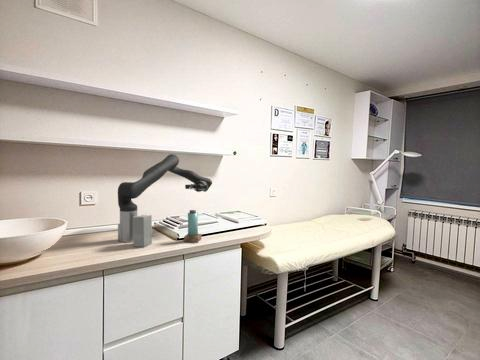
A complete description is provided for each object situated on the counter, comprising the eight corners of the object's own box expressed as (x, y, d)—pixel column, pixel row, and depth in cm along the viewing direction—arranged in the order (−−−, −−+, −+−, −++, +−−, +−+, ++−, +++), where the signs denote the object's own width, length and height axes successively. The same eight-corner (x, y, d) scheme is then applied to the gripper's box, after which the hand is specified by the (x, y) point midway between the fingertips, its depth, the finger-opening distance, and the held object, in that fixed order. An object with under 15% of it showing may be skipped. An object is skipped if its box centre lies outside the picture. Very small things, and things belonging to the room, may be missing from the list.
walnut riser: (183, 242, 143) (184, 236, 143) (188, 238, 151) (188, 233, 151) (197, 242, 142) (197, 237, 142) (201, 238, 150) (201, 233, 150)
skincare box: (144, 247, 131) (144, 217, 130) (131, 246, 132) (132, 216, 132) (152, 243, 139) (153, 214, 139) (141, 242, 140) (141, 214, 140)
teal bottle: (186, 236, 144) (186, 211, 143) (189, 233, 149) (189, 209, 149) (196, 236, 143) (196, 211, 143) (198, 234, 149) (198, 209, 148)
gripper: (190, 180, 176) (182, 181, 160) (210, 180, 175) (204, 181, 159) (190, 191, 177) (182, 193, 160) (210, 191, 175) (204, 193, 159)
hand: (193, 187), depth 160 cm, fingers open, 8 cm apart
